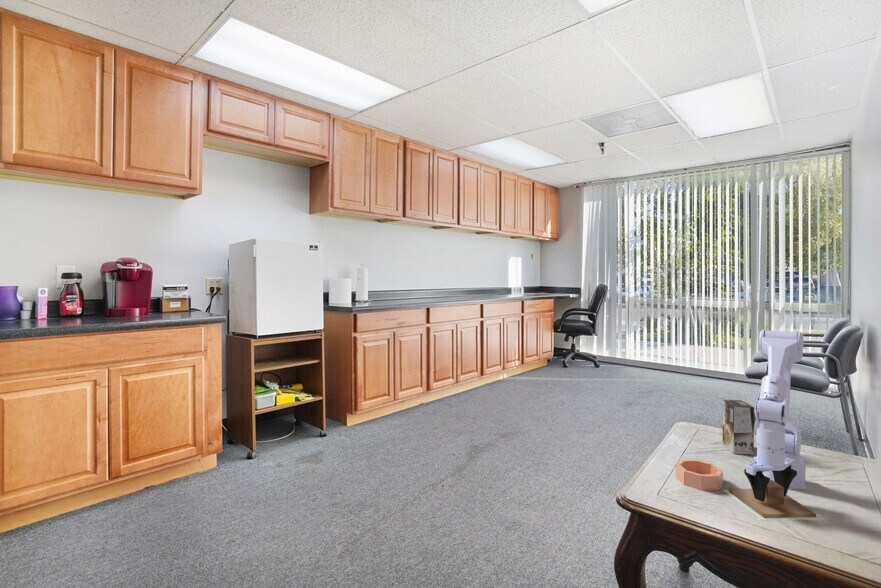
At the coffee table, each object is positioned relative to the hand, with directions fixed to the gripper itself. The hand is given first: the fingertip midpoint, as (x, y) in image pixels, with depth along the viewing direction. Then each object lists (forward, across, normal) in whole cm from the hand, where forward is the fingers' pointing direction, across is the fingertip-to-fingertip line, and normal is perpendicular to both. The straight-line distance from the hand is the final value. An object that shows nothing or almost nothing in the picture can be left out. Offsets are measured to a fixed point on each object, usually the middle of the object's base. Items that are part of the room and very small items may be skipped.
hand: (770, 497), depth 114 cm
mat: (+2, 0, 0) cm, 2 cm away
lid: (+2, 0, 0) cm, 2 cm away
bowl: (+2, +7, -16) cm, 17 cm away
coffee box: (+2, -26, -30) cm, 40 cm away
